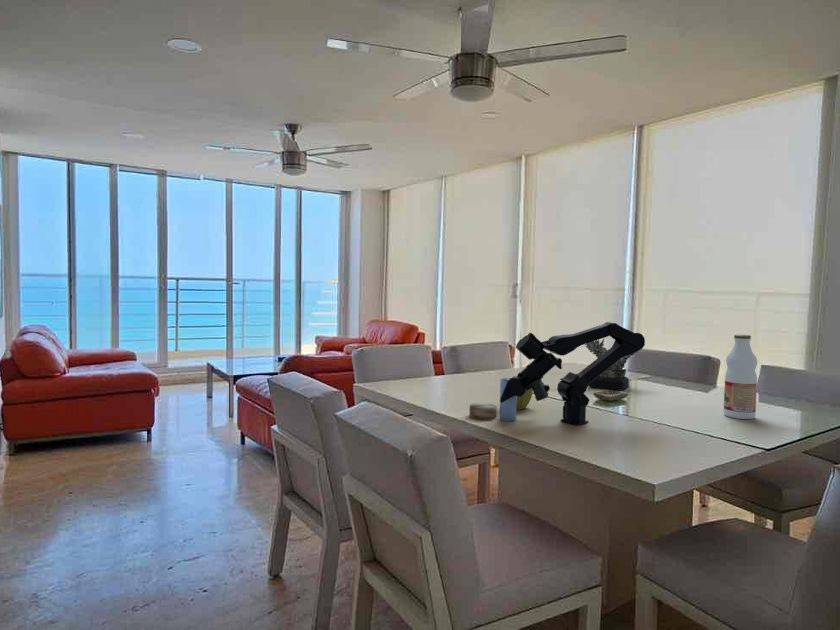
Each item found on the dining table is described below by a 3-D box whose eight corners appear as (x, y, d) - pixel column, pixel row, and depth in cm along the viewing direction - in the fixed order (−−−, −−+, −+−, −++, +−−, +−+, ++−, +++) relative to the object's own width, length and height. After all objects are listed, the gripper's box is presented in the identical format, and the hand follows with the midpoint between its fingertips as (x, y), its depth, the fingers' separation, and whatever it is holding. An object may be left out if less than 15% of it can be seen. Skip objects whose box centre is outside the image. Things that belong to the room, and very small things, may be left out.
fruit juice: (745, 421, 177) (748, 336, 176) (717, 415, 185) (720, 334, 184) (761, 417, 182) (764, 335, 180) (733, 412, 190) (736, 333, 189)
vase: (519, 419, 176) (520, 379, 175) (508, 421, 173) (508, 381, 172) (507, 416, 180) (508, 377, 179) (496, 418, 177) (496, 378, 176)
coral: (579, 387, 234) (580, 339, 233) (583, 381, 250) (584, 336, 249) (641, 392, 224) (642, 342, 223) (641, 385, 241) (643, 339, 240)
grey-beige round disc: (502, 417, 179) (502, 406, 179) (482, 420, 173) (482, 410, 173) (483, 411, 186) (483, 401, 186) (463, 415, 181) (464, 404, 180)
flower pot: (522, 411, 187) (523, 386, 187) (500, 408, 192) (500, 383, 192) (533, 407, 194) (534, 382, 194) (511, 404, 199) (512, 380, 199)
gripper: (551, 392, 161) (514, 424, 166) (560, 382, 178) (527, 411, 183) (525, 364, 164) (490, 397, 168) (537, 357, 181) (504, 387, 186)
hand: (504, 398), depth 176 cm, fingers open, 9 cm apart
